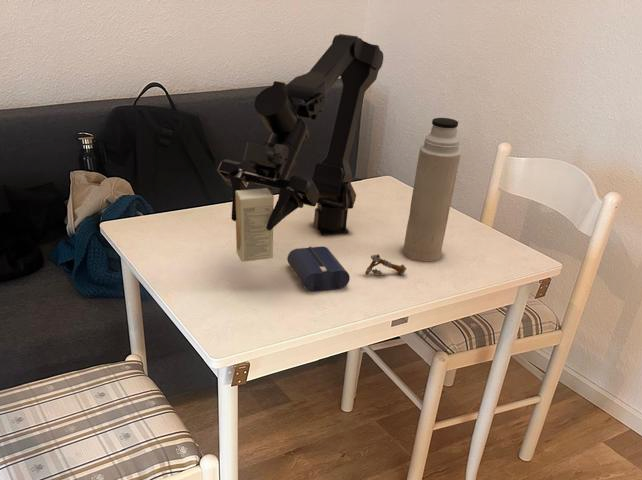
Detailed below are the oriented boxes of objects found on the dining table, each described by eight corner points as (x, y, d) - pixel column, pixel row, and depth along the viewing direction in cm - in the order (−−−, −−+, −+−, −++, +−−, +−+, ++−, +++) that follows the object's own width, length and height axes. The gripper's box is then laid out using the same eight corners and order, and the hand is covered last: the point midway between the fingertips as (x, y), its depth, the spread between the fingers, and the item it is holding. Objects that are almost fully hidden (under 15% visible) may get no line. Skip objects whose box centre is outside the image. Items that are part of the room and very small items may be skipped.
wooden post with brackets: (360, 270, 135) (371, 250, 133) (392, 282, 138) (403, 263, 136) (363, 274, 133) (374, 254, 131) (395, 286, 137) (407, 267, 135)
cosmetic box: (267, 249, 128) (269, 187, 121) (273, 259, 124) (275, 196, 117) (234, 251, 126) (234, 189, 119) (239, 262, 123) (239, 198, 116)
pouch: (329, 263, 139) (330, 244, 137) (348, 288, 130) (351, 268, 128) (286, 267, 137) (287, 247, 134) (303, 292, 128) (305, 272, 126)
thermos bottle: (440, 248, 147) (466, 116, 132) (440, 263, 141) (467, 127, 125) (403, 243, 149) (425, 112, 133) (402, 259, 142) (424, 123, 126)
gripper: (222, 113, 119) (187, 192, 117) (316, 132, 111) (281, 217, 110) (245, 147, 129) (213, 220, 127) (333, 166, 121) (301, 244, 120)
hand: (250, 224), depth 121 cm, fingers closed on cosmetic box, 7 cm apart
